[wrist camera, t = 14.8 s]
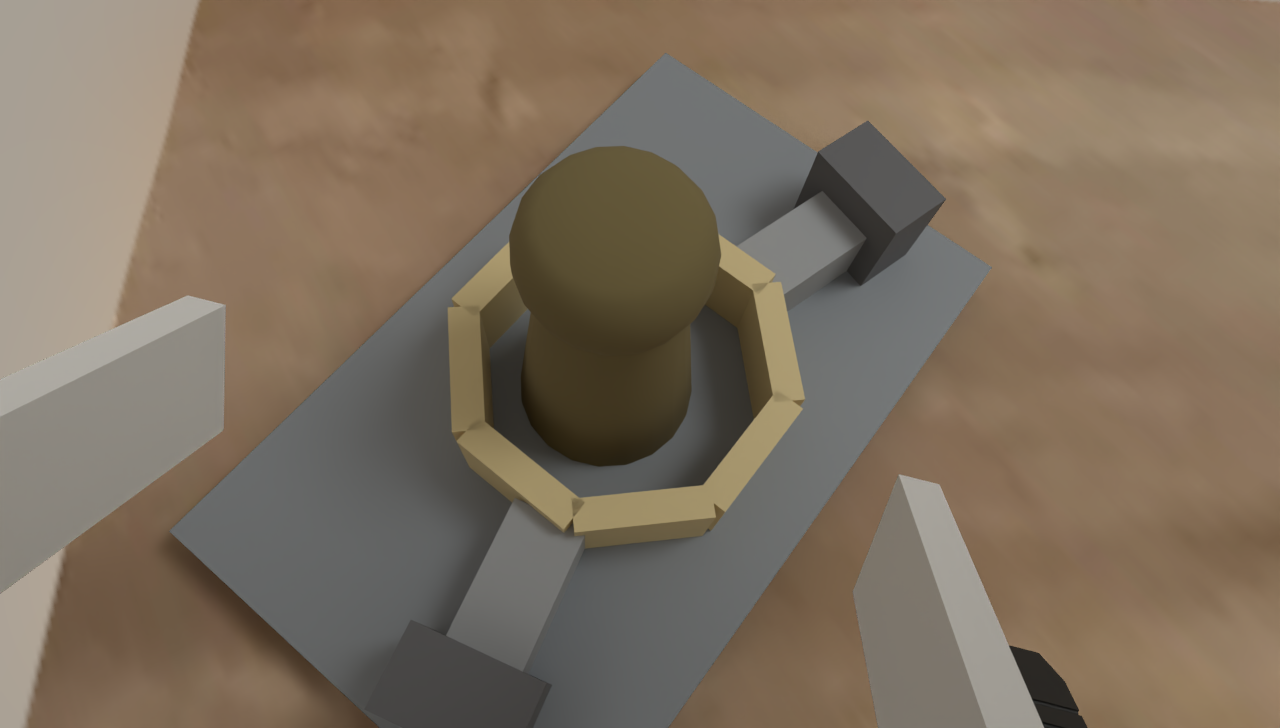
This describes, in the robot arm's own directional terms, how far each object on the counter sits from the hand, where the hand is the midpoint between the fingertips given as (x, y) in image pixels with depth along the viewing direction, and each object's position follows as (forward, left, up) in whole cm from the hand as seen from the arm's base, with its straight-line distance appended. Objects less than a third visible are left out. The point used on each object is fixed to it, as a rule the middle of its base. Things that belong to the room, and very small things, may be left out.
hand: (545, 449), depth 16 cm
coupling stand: (-6, -2, -13) cm, 14 cm away
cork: (-5, -3, -12) cm, 13 cm away
